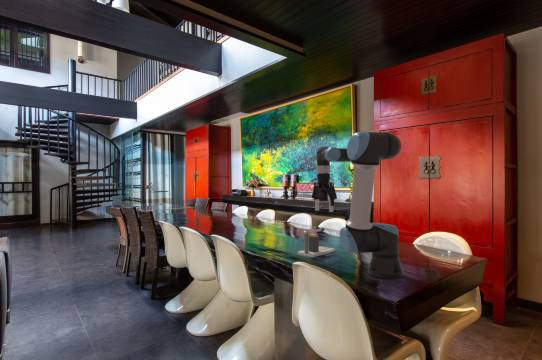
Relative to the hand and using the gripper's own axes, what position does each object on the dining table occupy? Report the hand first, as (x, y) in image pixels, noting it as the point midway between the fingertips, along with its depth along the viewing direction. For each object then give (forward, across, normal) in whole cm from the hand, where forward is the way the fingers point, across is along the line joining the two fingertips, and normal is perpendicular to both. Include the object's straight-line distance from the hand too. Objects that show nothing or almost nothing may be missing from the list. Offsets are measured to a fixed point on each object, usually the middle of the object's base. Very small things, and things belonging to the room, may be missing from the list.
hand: (324, 211), depth 173 cm
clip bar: (+13, +5, +4) cm, 14 cm away
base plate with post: (+26, +5, +2) cm, 26 cm away
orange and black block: (+25, +4, +4) cm, 26 cm away
